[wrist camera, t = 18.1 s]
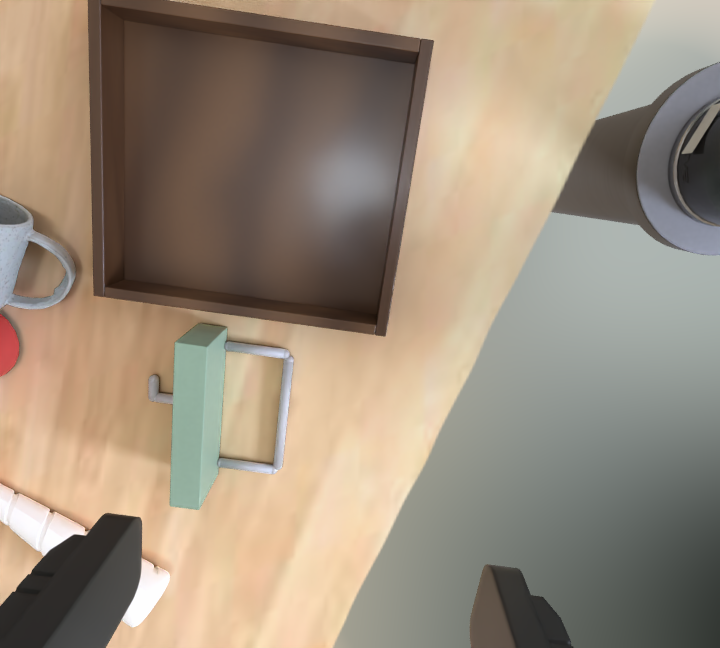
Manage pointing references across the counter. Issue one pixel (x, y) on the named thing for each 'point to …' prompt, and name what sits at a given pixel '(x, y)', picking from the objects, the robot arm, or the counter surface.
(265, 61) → the tray
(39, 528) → the unicorn horn
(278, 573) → the counter surface
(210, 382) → the hanger
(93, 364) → the counter surface
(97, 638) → the robot arm
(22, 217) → the ceramic mug
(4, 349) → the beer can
